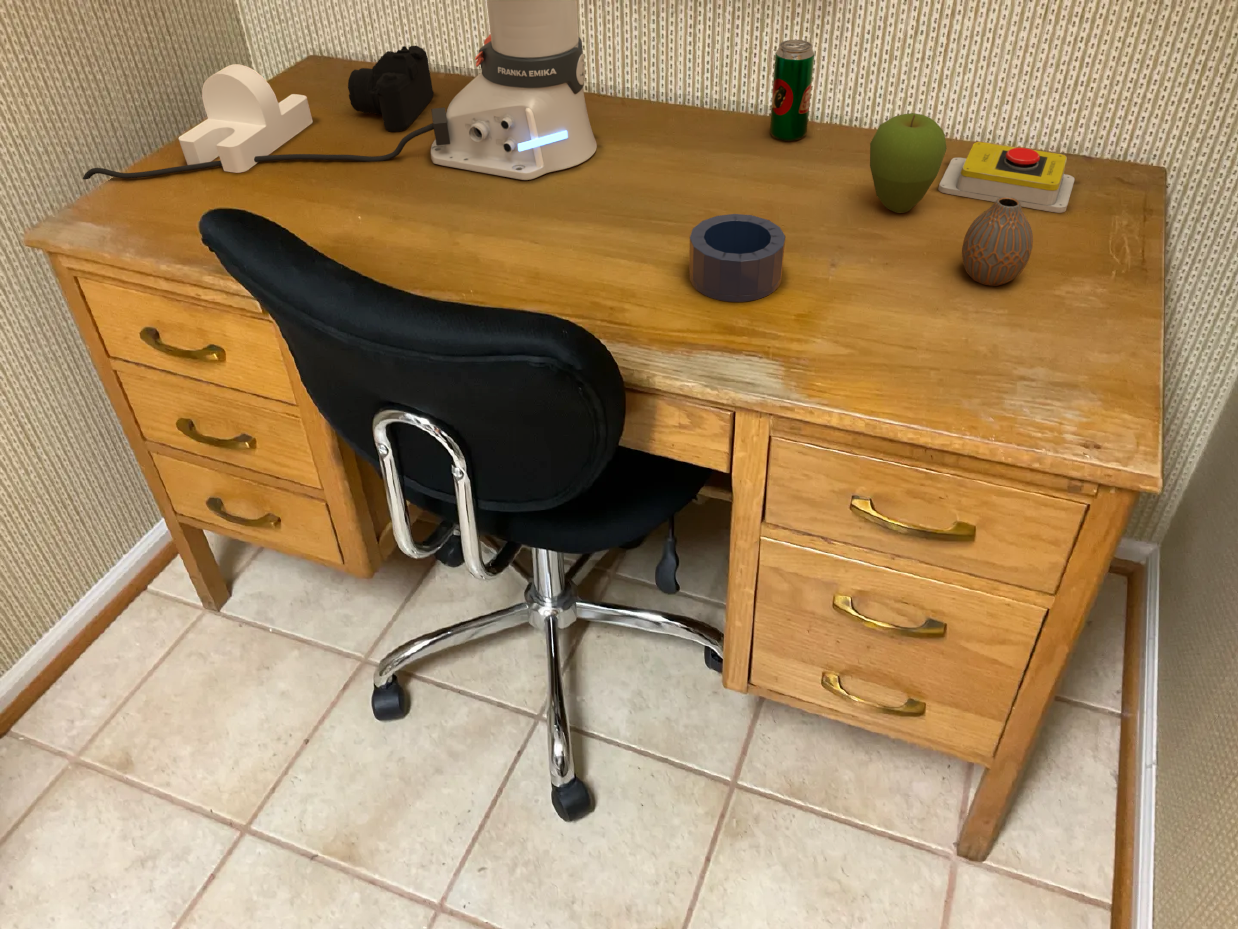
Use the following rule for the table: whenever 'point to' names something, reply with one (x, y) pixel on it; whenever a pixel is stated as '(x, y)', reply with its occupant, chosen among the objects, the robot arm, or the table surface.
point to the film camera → (393, 87)
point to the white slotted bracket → (243, 120)
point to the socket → (736, 257)
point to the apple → (906, 159)
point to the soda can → (791, 90)
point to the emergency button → (1010, 176)
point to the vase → (998, 243)
